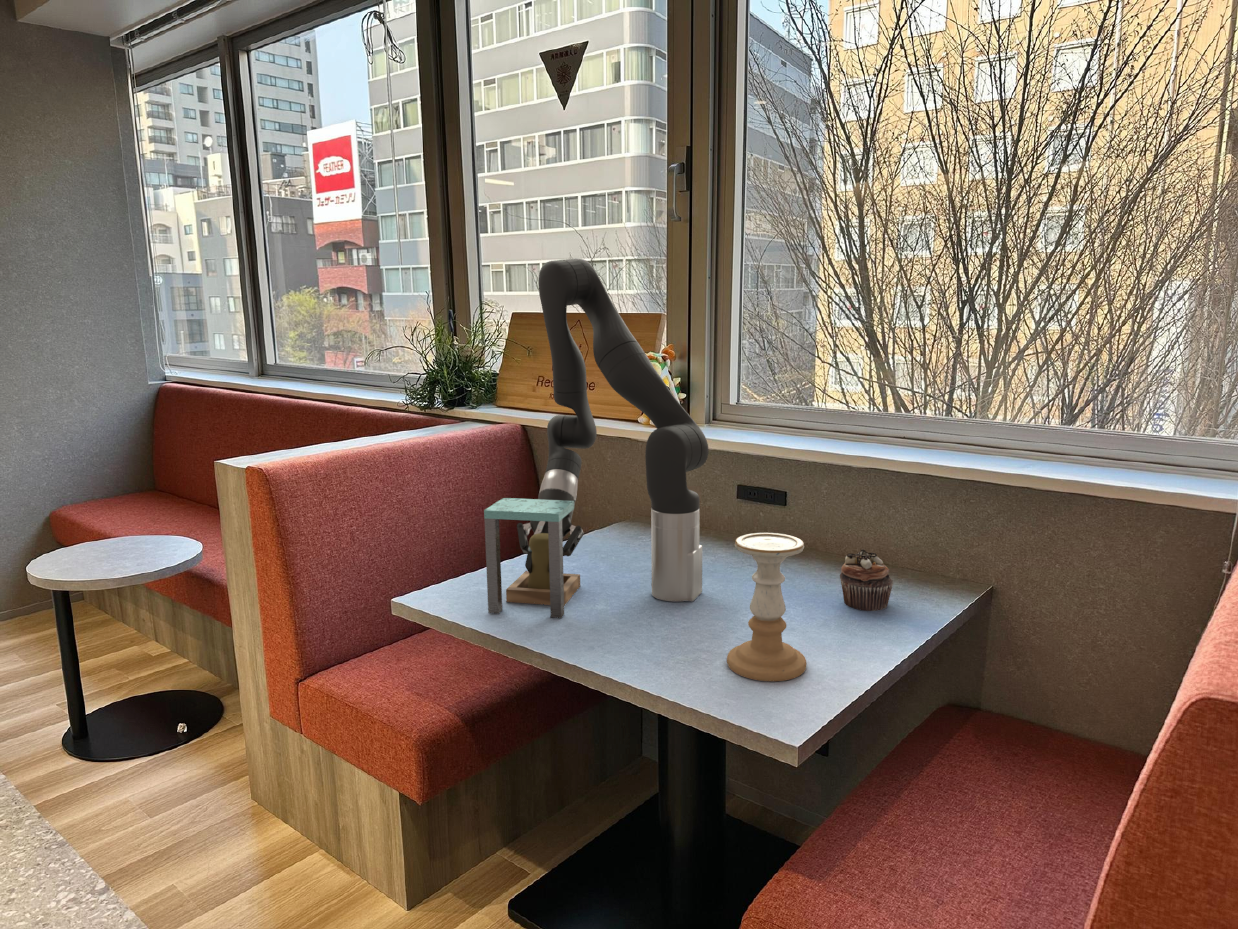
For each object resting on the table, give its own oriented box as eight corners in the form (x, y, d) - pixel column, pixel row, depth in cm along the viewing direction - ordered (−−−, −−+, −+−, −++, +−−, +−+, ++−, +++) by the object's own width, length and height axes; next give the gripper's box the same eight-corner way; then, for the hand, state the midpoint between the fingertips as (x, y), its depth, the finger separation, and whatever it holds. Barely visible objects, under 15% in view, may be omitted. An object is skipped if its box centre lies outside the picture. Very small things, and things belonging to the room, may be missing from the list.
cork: (553, 595, 163) (553, 539, 161) (523, 592, 165) (522, 537, 162) (561, 584, 169) (561, 531, 167) (532, 582, 170) (532, 529, 168)
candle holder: (713, 671, 131) (715, 545, 127) (745, 644, 141) (747, 526, 138) (789, 689, 125) (793, 557, 121) (817, 659, 135) (821, 537, 131)
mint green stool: (507, 595, 166) (503, 497, 163) (576, 599, 163) (573, 500, 160) (488, 613, 157) (484, 510, 153) (561, 618, 154) (558, 513, 150)
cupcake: (878, 616, 153) (880, 563, 151) (829, 604, 159) (831, 553, 158) (901, 603, 160) (904, 551, 158) (853, 591, 166) (856, 542, 165)
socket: (526, 582, 174) (525, 571, 173) (580, 586, 171) (580, 574, 171) (506, 602, 163) (506, 589, 162) (564, 606, 160) (564, 593, 160)
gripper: (519, 485, 172) (500, 561, 163) (587, 488, 169) (571, 565, 159) (528, 505, 178) (511, 579, 169) (594, 507, 175) (580, 583, 166)
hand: (540, 572), depth 164 cm, fingers closed on cork, 3 cm apart
